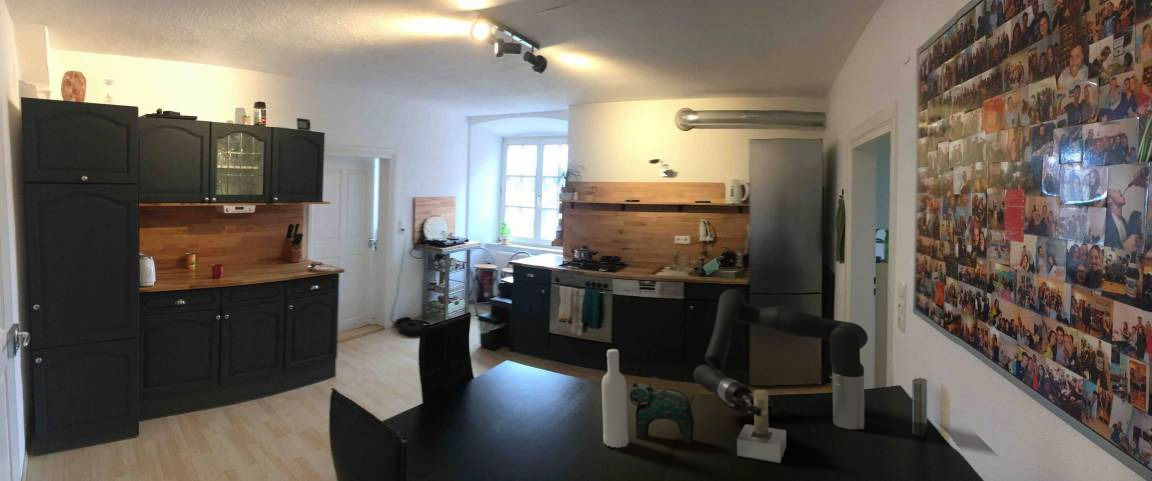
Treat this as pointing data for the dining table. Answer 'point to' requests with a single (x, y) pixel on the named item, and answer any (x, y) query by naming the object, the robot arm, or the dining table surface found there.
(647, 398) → the ceramic cat
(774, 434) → the socket block
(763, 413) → the wooden peg
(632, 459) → the dining table surface
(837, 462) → the dining table surface
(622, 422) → the bottle
